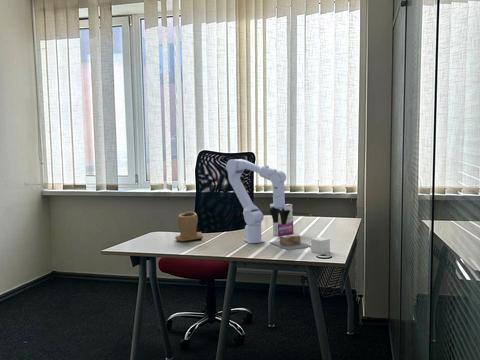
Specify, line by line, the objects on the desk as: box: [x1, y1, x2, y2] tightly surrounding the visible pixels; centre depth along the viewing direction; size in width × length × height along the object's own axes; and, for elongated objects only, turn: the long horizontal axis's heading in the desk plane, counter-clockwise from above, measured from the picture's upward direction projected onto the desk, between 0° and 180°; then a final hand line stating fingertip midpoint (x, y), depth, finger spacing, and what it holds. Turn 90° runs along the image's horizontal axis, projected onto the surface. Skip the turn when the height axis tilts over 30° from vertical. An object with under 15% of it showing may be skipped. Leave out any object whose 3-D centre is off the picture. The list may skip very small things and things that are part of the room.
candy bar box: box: [272, 203, 294, 237], centre depth 250 cm, size 11×5×16 cm, turn 126°
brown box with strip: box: [279, 233, 301, 246], centre depth 223 cm, size 9×4×4 cm, turn 119°
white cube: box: [310, 236, 331, 255], centre depth 207 cm, size 6×6×6 cm
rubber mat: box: [269, 240, 311, 251], centre depth 223 cm, size 18×14×1 cm
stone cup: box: [175, 211, 204, 242], centre depth 240 cm, size 15×12×15 cm
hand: (279, 223), depth 224 cm, fingers open, 7 cm apart
